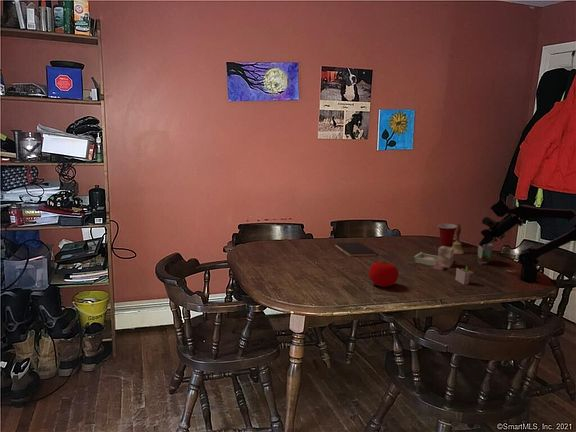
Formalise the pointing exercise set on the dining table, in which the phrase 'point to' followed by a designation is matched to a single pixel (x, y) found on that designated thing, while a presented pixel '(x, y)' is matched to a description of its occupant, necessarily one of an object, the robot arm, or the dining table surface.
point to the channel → (420, 259)
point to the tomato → (383, 273)
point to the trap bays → (439, 266)
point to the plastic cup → (447, 233)
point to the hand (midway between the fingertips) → (479, 245)
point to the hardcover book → (356, 249)
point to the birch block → (444, 256)
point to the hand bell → (457, 242)
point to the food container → (484, 253)
